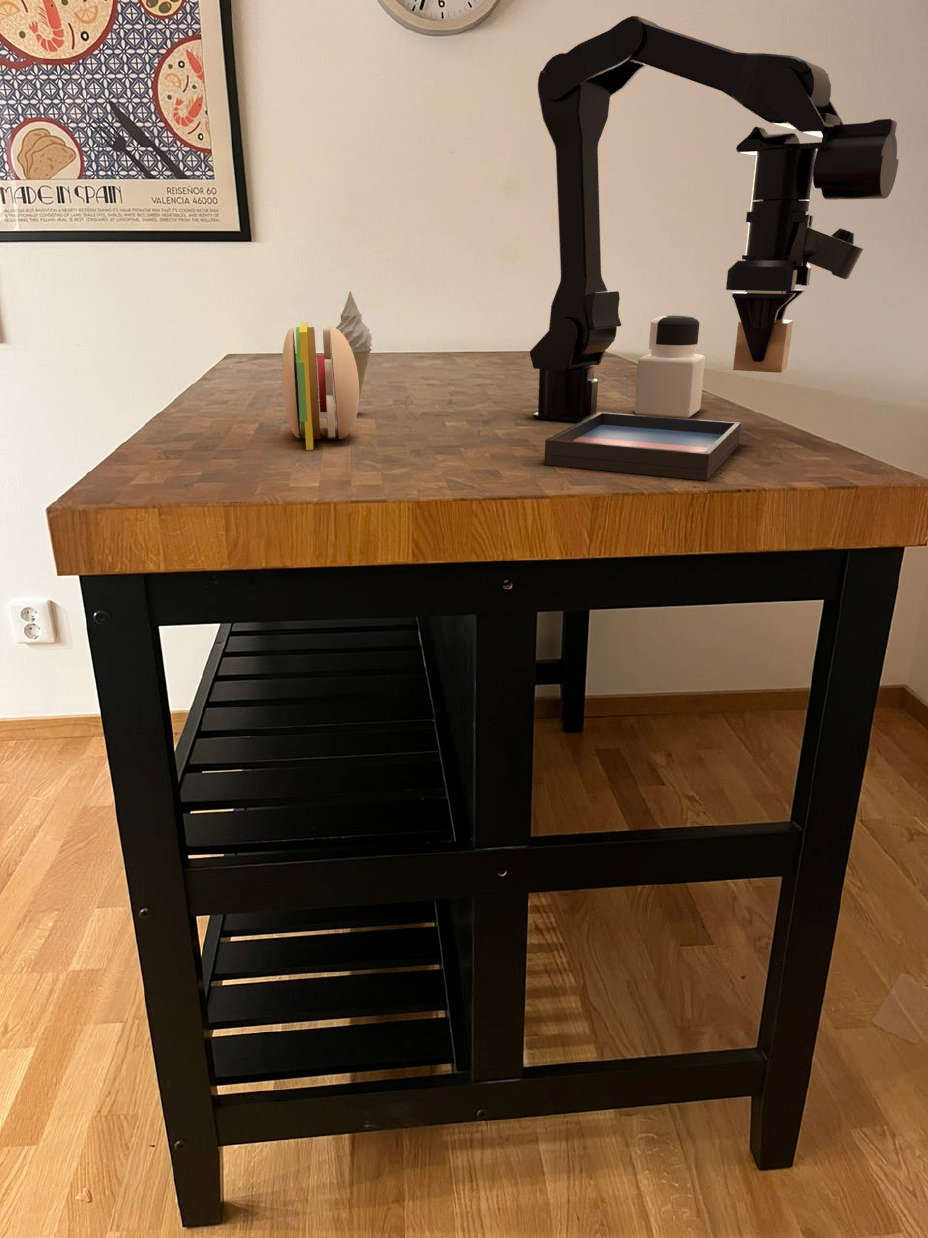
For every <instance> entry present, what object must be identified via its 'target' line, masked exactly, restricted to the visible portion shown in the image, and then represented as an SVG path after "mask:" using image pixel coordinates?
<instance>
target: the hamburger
mask: <svg viewBox="0 0 928 1238" xmlns="http://www.w3.org/2000/svg"><path fill="white" fill-rule="evenodd" d="M299 325H300V326H296V327H295V332H294V327H291V328H289V329H288V331H287V332H286V335H285V338H284V343H283V349H282V355H281V385H282V394H283V395H282V396H283V402H284V408H285V413H286V418H287V421H288V424H289V427H290V430H291V432H292V433H293V435H294V436H295V438H297V439H301V437H302V440H305V450H306V451H313V450H314V440H321V424H320V413H326V420H327V421H326V422H327V438H328V440H336V426H337V435H338V440H341V439H344V438H346V437H347V436H348V435H349V434H350V433H351V431H352V430H353V427H354V425H355V423H356V420H357V417H358V412H359V405H360V404H359V403H360V399H359V379H358V371H357V366H356V362H355V358H354V355H353V352H352V349H351V347H350V345H349V343H348V341H347V339H346V338H345V336H344V335H343V334H342V333H341V332H340V331H339V330H337V329H336V327H334V326H327V325H325V326H324V325H323V326H322V342H323V343H322V344H323V345H322V346H323V355H322V354H321V355H320V354H318V355H317V348H316V331H315V327H314V326H309V323H308V322H300V324H299ZM335 413H336V414H335ZM335 415H336V420H335ZM335 421H336V422H335ZM336 424H337V425H336Z"/></svg>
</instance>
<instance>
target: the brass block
mask: <svg viewBox="0 0 928 1238" xmlns="http://www.w3.org/2000/svg"><path fill="white" fill-rule="evenodd" d="M793 324H794V320H793V319H783V320H776V321H775V325H774V328H773V331H772V335H771V338H770V341H769V345H768V348H767V351H766V355H765V358H764V360H763V361H762V362H754V361H753V360H752V357H751V354H750V350H749V347H748V343H747V340H746V337H745V333H744V330H743V327H742V323H741V320H739V321H738V322H737V331H736V340H735V349H734V357H733V368H732V370H733V371H741V372H757V373H758V372H761V373H777V374H779V373H780V374H781V373H783V372H784V371H785V370H786V369H787V368H788V362H789V353H790V346H791V339H792V332H793V331H792V330H793Z"/></svg>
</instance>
